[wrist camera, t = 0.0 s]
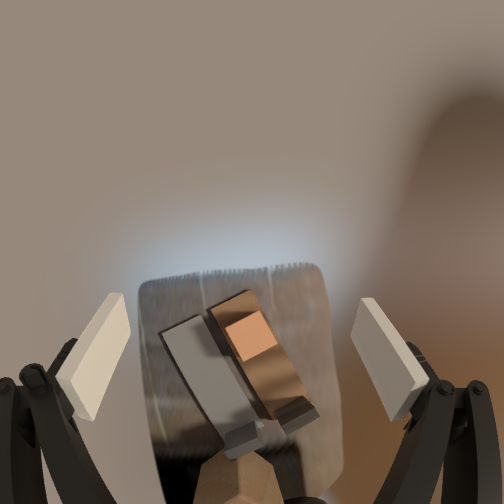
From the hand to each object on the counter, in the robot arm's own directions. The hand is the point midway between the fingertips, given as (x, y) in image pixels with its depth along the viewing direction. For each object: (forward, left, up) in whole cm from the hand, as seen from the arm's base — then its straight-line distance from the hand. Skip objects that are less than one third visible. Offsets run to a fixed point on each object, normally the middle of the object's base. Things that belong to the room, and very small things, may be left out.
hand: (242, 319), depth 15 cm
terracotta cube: (-3, -1, -35) cm, 35 cm away
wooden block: (-27, +14, -36) cm, 47 cm away
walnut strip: (-8, -1, -36) cm, 37 cm away
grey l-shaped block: (-8, +9, -36) cm, 38 cm away
